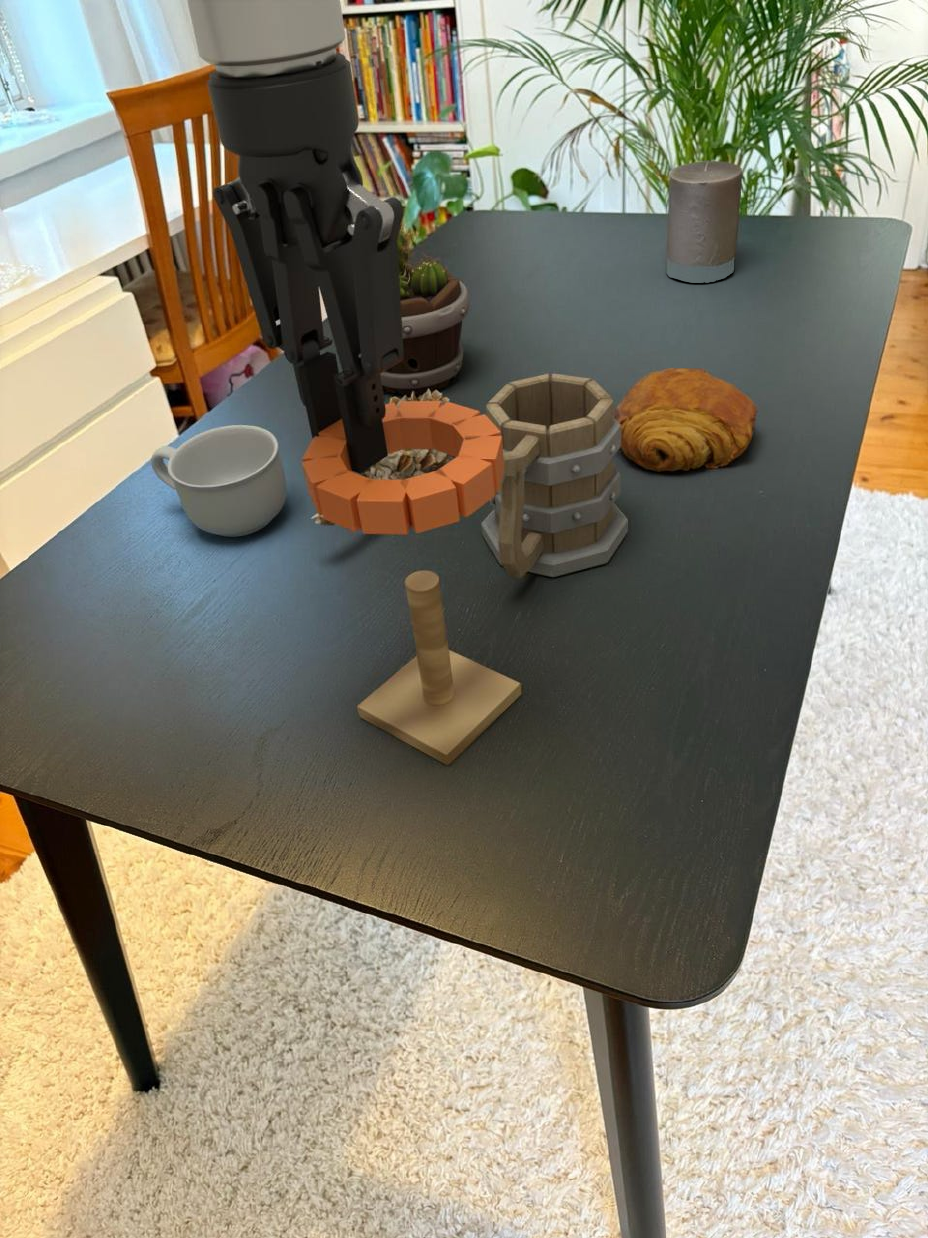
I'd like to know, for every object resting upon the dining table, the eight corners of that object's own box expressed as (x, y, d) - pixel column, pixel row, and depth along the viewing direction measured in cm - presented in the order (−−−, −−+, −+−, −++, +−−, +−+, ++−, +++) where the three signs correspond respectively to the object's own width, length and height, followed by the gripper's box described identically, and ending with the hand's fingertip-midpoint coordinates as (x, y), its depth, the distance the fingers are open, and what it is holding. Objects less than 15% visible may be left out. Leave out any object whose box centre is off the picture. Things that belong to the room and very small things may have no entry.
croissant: (597, 483, 102) (591, 420, 96) (641, 398, 111) (638, 335, 106) (736, 502, 96) (738, 436, 91) (771, 410, 105) (774, 345, 100)
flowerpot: (498, 382, 118) (485, 211, 105) (382, 417, 114) (354, 243, 101) (448, 342, 129) (431, 182, 116) (340, 373, 124) (310, 210, 112)
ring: (271, 497, 63) (263, 465, 61) (400, 416, 70) (395, 385, 68) (414, 557, 56) (408, 523, 54) (541, 461, 63) (539, 428, 61)
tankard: (522, 489, 99) (513, 349, 89) (641, 512, 93) (645, 366, 84) (426, 605, 85) (403, 455, 76) (559, 639, 80) (552, 483, 71)
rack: (359, 717, 75) (331, 592, 68) (434, 652, 80) (415, 530, 73) (448, 766, 70) (428, 638, 63) (521, 694, 76) (512, 567, 68)
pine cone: (403, 450, 107) (391, 365, 101) (483, 462, 104) (475, 375, 97) (296, 563, 92) (273, 472, 86) (384, 582, 89) (367, 488, 82)
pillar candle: (731, 258, 142) (740, 148, 133) (737, 283, 135) (746, 168, 126) (663, 261, 144) (667, 152, 135) (665, 286, 137) (670, 173, 127)
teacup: (315, 504, 100) (299, 435, 95) (246, 561, 93) (226, 490, 88) (214, 478, 106) (195, 411, 101) (143, 530, 99) (118, 461, 94)
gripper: (437, 48, 48) (478, 461, 63) (233, 40, 57) (311, 407, 72) (331, 82, 44) (401, 516, 59) (127, 68, 52) (233, 452, 67)
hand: (352, 456), depth 65 cm, fingers closed on ring, 3 cm apart
